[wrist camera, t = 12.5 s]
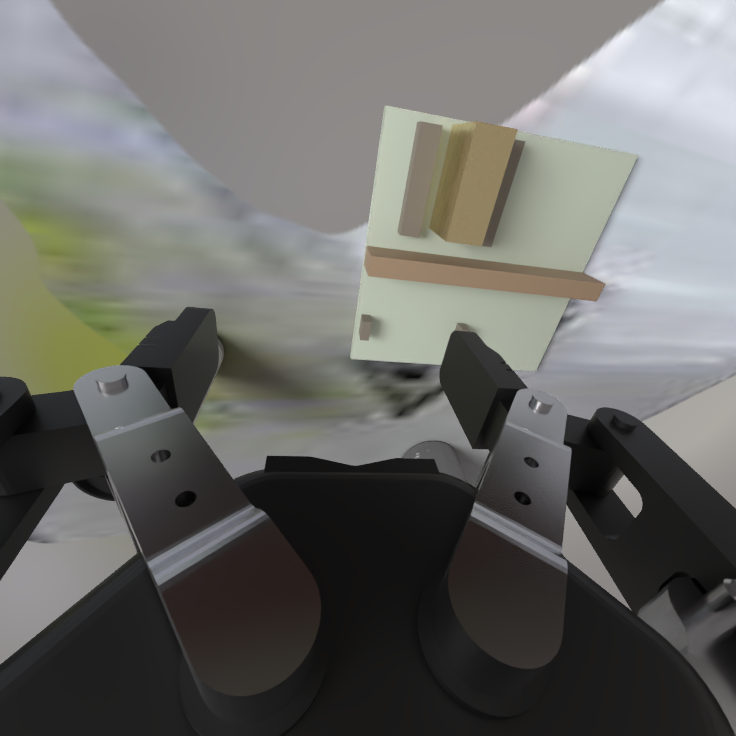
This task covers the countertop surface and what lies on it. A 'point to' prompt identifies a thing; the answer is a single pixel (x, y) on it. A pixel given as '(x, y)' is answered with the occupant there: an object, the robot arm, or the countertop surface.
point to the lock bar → (471, 181)
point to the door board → (479, 263)
